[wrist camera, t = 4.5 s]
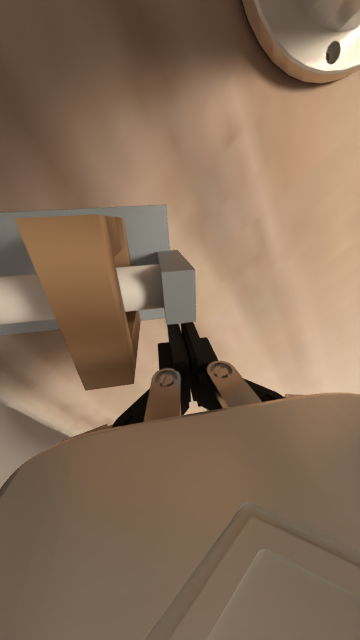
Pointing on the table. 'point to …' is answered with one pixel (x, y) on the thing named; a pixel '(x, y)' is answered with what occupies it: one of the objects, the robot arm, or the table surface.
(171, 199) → the table surface
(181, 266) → the pipe stand
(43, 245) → the collar
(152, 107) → the table surface
